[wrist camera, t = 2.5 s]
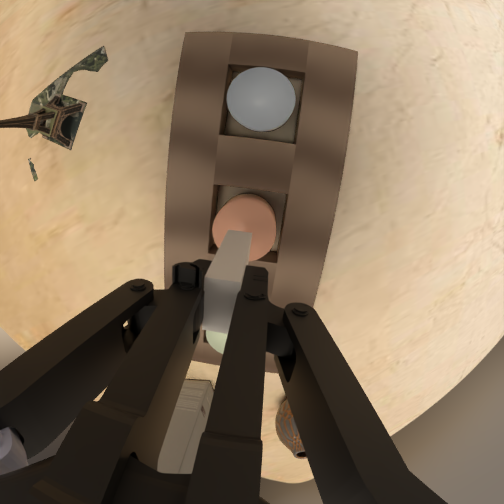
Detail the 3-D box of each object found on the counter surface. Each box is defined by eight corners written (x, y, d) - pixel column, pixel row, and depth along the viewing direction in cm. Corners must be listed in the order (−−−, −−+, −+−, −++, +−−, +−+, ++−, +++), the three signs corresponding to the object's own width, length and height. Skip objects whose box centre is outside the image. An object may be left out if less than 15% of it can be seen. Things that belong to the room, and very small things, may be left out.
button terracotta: (222, 190, 23) (215, 196, 21) (279, 197, 23) (280, 205, 20) (217, 243, 25) (210, 257, 22) (271, 251, 25) (270, 265, 22)
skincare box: (221, 414, 37) (203, 508, 22) (175, 410, 37) (147, 497, 23) (211, 377, 34) (184, 486, 19) (160, 373, 34) (119, 470, 20)
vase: (327, 383, 33) (336, 438, 25) (324, 413, 35) (330, 463, 27) (274, 387, 34) (272, 443, 25) (277, 417, 36) (276, 467, 28)
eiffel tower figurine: (108, 44, 20) (20, 10, 8) (131, 124, 23) (32, 124, 11) (20, 113, 23) (-61, 122, 10) (38, 183, 26) (-46, 214, 14)
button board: (193, 41, 20) (185, 32, 17) (350, 59, 19) (357, 51, 17) (174, 341, 32) (168, 355, 29) (292, 359, 31) (292, 374, 29)
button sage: (213, 294, 27) (206, 311, 24) (263, 301, 27) (261, 320, 24) (210, 333, 29) (205, 351, 26) (256, 340, 29) (254, 359, 26)
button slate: (236, 73, 20) (231, 64, 17) (295, 80, 20) (299, 72, 17) (229, 128, 21) (222, 126, 19) (288, 135, 21) (290, 134, 19)
